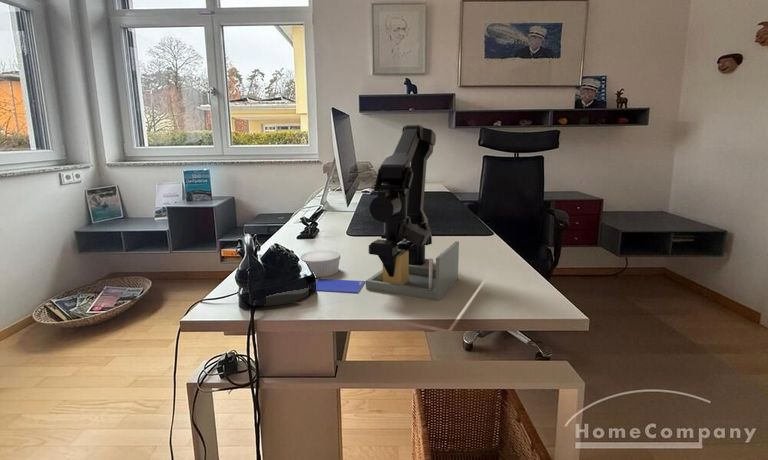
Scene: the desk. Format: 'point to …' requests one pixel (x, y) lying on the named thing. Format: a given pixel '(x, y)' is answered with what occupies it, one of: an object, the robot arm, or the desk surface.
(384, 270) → the block
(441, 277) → the case
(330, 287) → the hard drive
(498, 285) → the desk surface
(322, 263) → the ramekin
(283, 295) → the media streaming box
